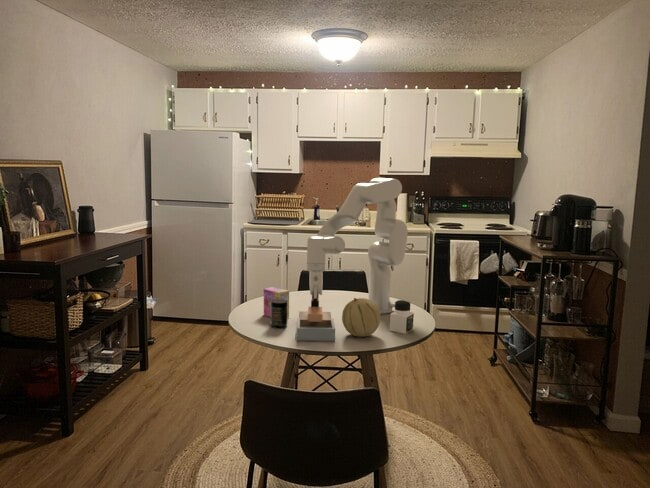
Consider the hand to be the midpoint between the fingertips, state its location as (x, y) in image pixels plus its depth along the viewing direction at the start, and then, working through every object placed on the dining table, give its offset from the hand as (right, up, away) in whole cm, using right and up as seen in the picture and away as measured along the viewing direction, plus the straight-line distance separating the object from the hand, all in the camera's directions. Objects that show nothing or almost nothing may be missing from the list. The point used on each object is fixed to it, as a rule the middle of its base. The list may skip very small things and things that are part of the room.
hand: (314, 310), depth 205 cm
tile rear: (0, -2, -4) cm, 5 cm away
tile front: (0, -2, -10) cm, 10 cm away
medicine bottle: (+35, -7, -7) cm, 36 cm away
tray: (+1, -7, -17) cm, 19 cm away
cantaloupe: (+18, -8, -15) cm, 25 cm away
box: (-17, -4, +8) cm, 19 cm away
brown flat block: (0, -6, -4) cm, 7 cm away
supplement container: (-14, -6, -6) cm, 17 cm away
